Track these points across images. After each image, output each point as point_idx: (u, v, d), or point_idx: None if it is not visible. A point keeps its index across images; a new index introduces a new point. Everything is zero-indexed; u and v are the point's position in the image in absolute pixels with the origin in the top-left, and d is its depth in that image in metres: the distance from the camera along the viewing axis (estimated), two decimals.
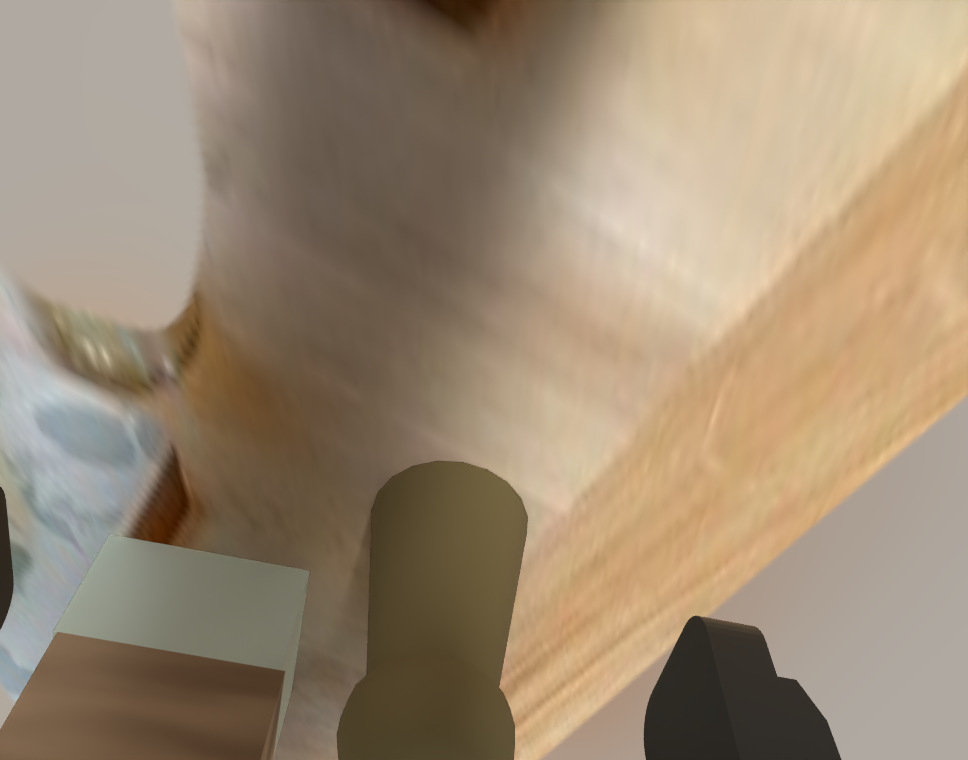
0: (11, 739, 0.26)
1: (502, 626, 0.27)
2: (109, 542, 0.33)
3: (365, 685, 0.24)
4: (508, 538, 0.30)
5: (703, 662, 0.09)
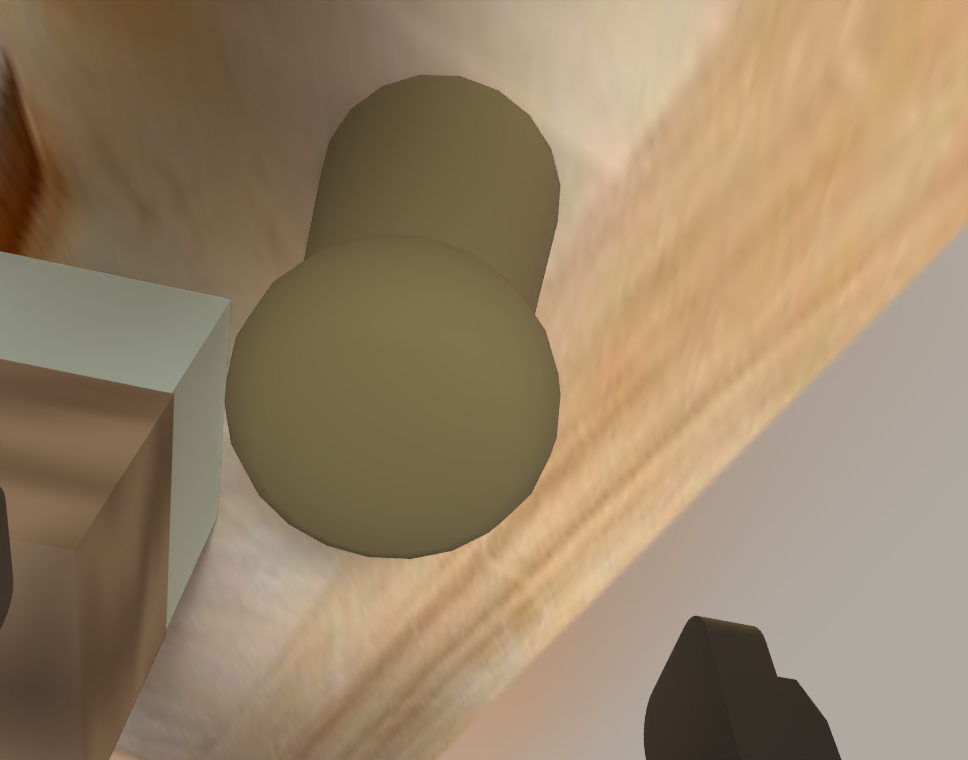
0: None
1: (528, 262, 0.16)
2: None
3: (278, 278, 0.13)
4: (533, 172, 0.18)
5: (703, 662, 0.09)
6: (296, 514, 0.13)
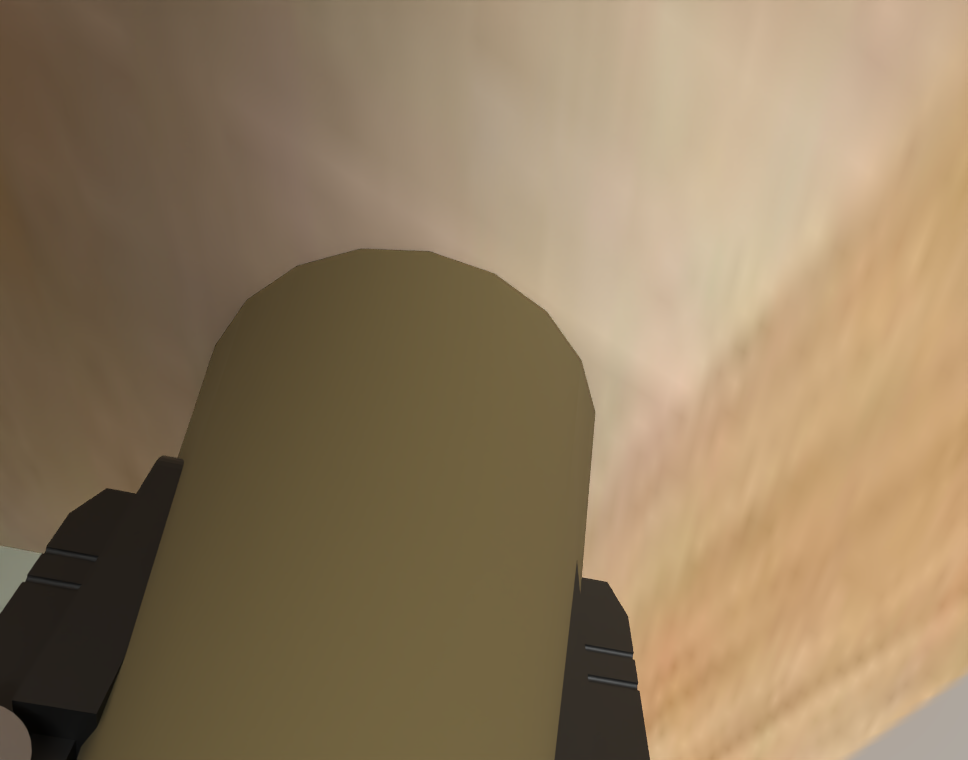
0: None
1: (555, 708, 0.08)
2: None
3: None
4: (555, 442, 0.10)
5: None
6: None
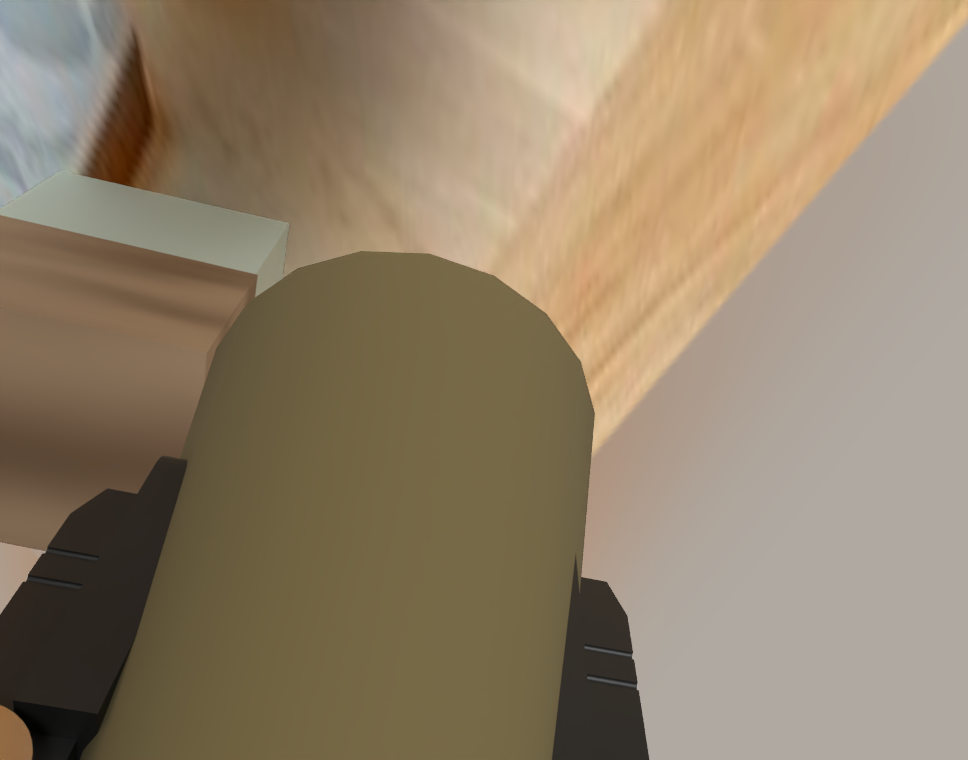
0: None
1: (554, 708, 0.08)
2: (59, 174, 0.29)
3: None
4: (556, 442, 0.10)
5: None
6: None
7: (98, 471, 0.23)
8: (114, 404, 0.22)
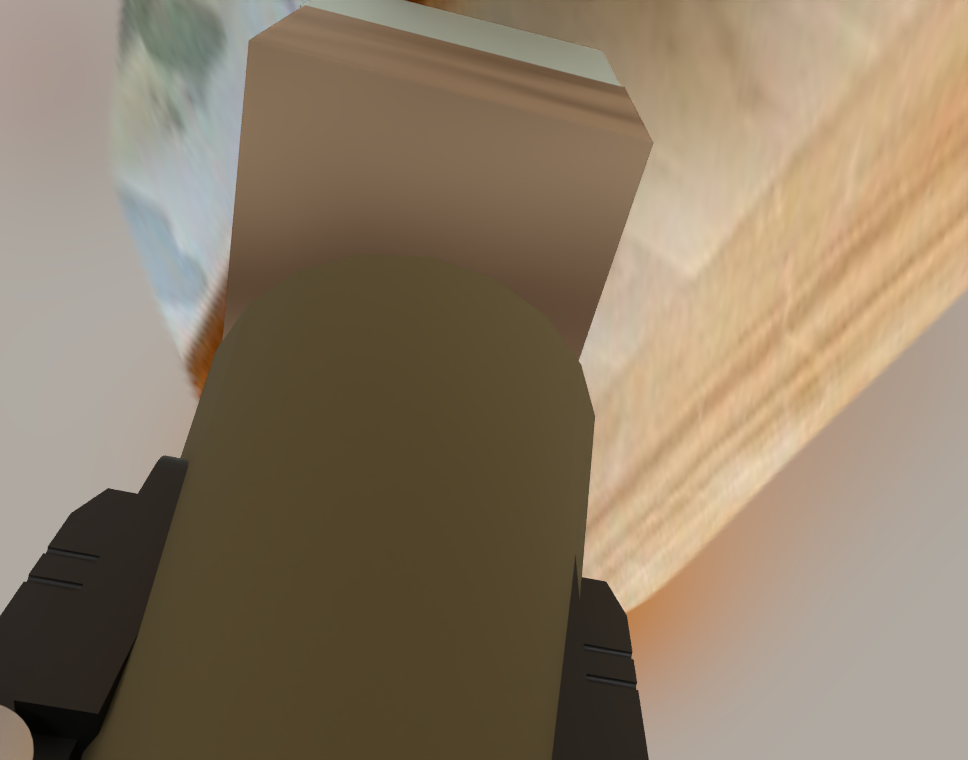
0: (285, 38, 0.17)
1: (554, 713, 0.08)
2: None
3: None
4: (556, 446, 0.10)
5: None
6: None
7: None
8: (513, 218, 0.18)
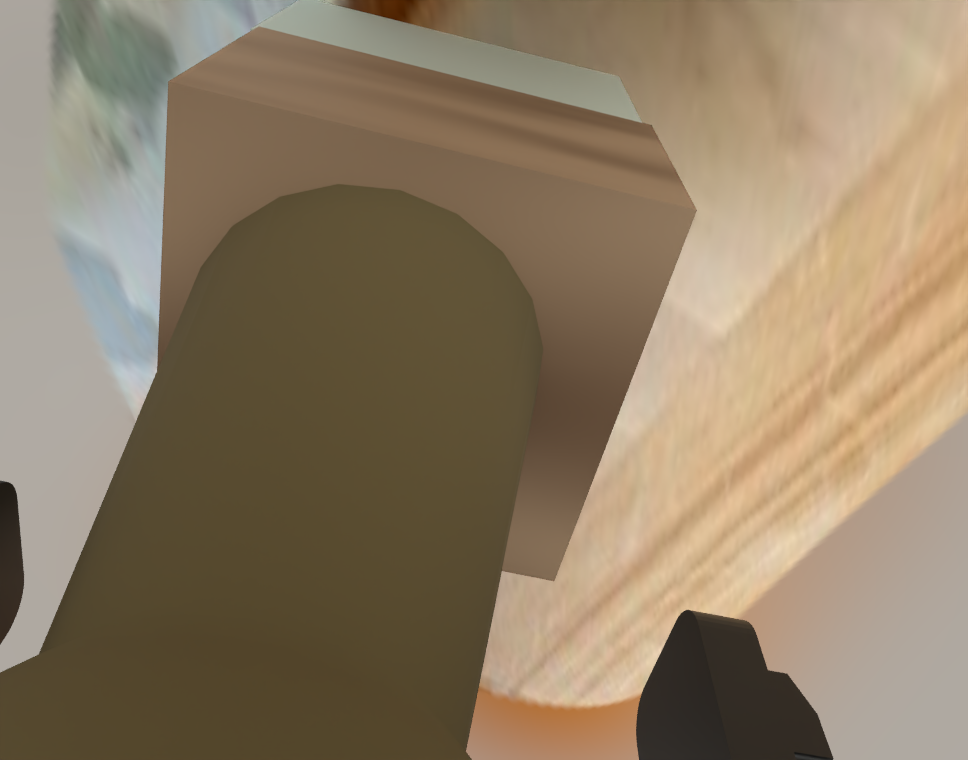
0: (220, 76, 0.13)
1: (483, 564, 0.09)
2: (307, 0, 0.20)
3: None
4: (502, 359, 0.12)
5: (694, 656, 0.09)
6: None
7: None
8: None
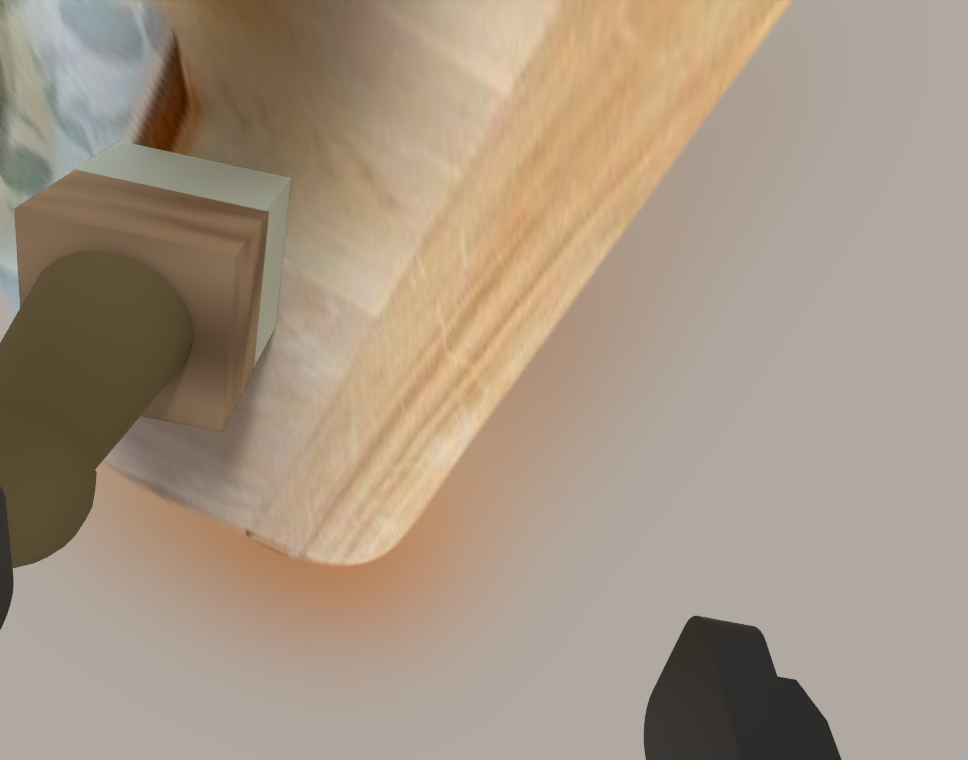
0: (39, 203, 0.31)
1: (108, 389, 0.27)
2: (118, 144, 0.39)
3: None
4: (141, 319, 0.30)
5: (703, 662, 0.09)
6: None
7: None
8: None
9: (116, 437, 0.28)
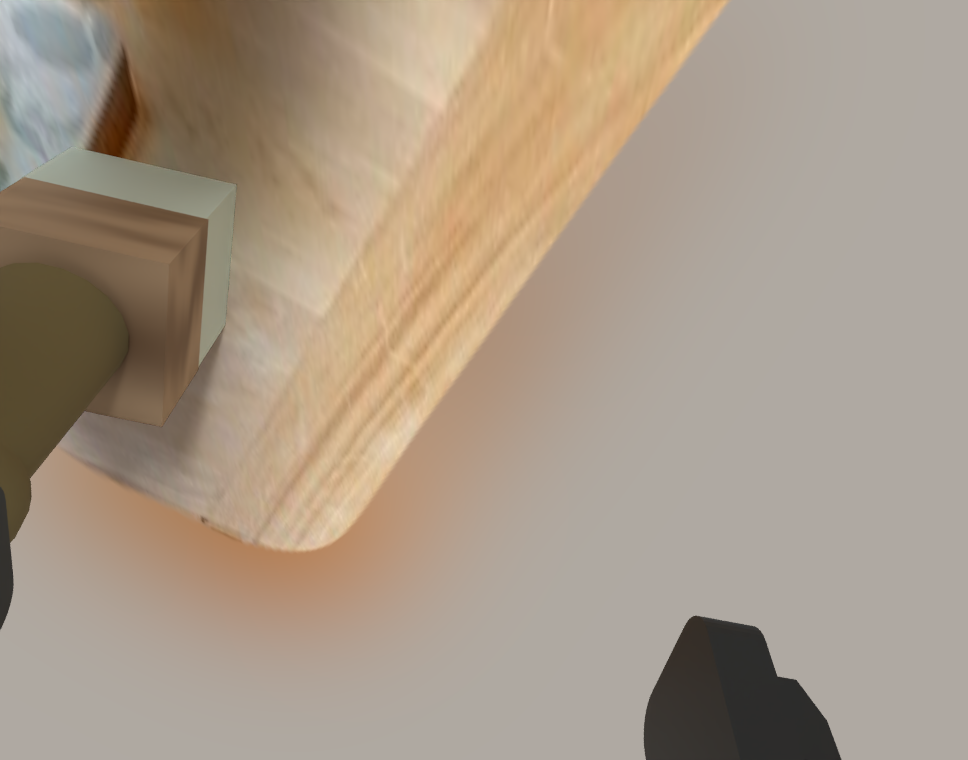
0: None
1: (40, 400, 0.29)
2: (71, 149, 0.41)
3: None
4: (72, 328, 0.32)
5: (703, 662, 0.09)
6: None
7: None
8: None
9: (52, 442, 0.30)
